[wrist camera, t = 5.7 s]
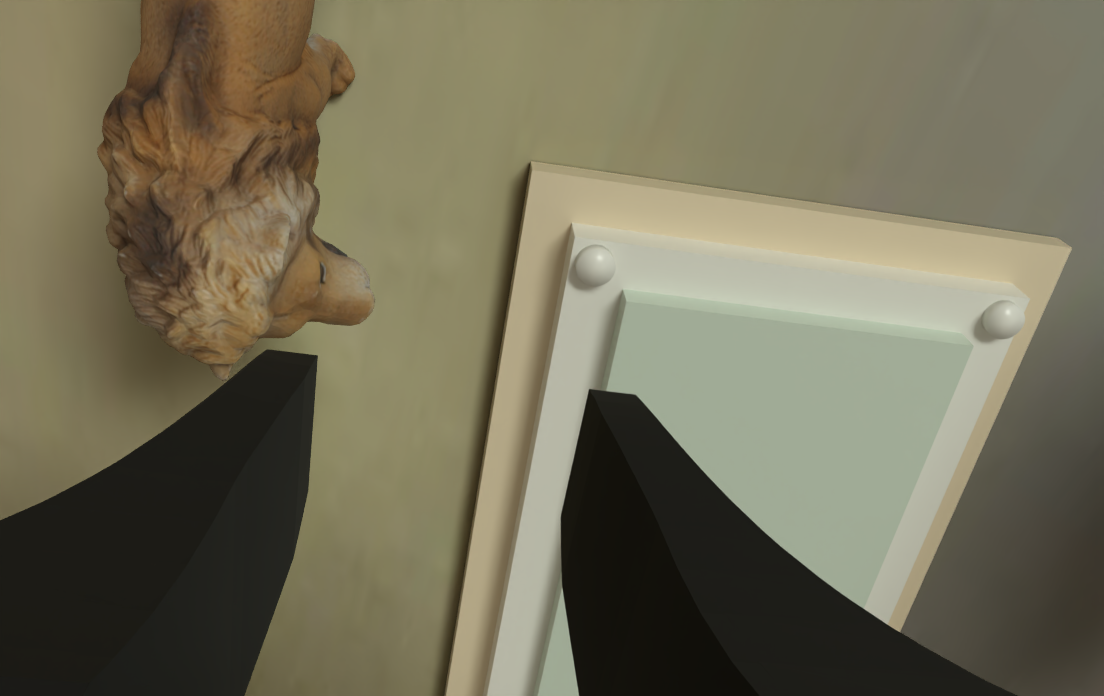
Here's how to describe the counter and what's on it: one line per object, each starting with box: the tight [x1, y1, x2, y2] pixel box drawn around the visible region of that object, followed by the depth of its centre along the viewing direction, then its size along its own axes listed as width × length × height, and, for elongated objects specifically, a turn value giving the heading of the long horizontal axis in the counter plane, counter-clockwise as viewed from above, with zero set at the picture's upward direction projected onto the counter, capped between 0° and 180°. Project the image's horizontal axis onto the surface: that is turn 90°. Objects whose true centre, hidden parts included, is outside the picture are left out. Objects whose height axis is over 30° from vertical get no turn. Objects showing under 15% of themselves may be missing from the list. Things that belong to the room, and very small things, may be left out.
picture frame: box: [444, 161, 1072, 696], centre depth 24 cm, size 12×18×2 cm, turn 170°
